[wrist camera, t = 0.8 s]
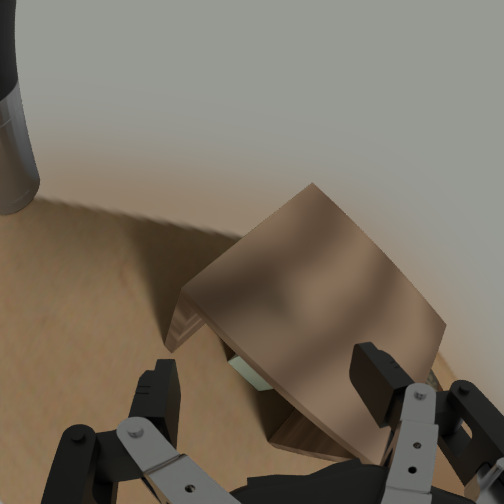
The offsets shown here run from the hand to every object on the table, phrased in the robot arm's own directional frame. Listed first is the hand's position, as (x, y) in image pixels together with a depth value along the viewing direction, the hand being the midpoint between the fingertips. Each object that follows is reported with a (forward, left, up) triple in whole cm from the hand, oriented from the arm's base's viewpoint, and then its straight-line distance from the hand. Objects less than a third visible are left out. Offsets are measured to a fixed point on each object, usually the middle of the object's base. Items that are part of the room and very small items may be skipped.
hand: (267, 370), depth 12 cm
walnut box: (+3, +7, -21) cm, 23 cm away
